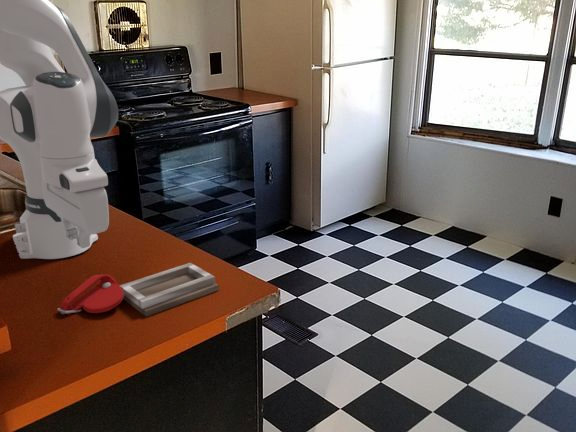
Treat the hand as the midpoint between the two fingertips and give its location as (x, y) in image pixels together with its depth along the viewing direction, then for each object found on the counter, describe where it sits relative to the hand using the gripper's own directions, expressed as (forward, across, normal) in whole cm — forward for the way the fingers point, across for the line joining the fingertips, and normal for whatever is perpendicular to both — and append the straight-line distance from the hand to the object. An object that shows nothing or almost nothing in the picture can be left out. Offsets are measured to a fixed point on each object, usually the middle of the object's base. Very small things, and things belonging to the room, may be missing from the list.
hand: (78, 242), depth 109 cm
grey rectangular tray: (+16, 0, +18) cm, 24 cm away
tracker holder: (+14, 0, 0) cm, 14 cm away
